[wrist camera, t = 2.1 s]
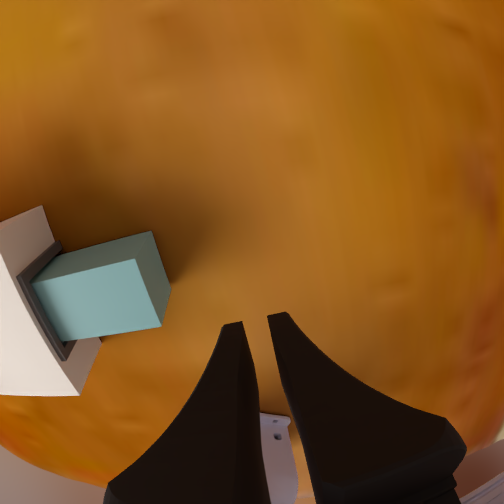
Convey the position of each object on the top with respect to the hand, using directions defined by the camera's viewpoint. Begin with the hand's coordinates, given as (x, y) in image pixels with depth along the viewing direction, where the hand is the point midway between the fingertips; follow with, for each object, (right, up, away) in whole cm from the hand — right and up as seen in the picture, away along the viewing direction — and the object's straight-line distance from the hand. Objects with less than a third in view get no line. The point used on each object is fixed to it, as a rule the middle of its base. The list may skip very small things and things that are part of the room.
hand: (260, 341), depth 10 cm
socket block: (-17, 0, +9) cm, 20 cm away
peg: (-10, +2, +8) cm, 13 cm away
